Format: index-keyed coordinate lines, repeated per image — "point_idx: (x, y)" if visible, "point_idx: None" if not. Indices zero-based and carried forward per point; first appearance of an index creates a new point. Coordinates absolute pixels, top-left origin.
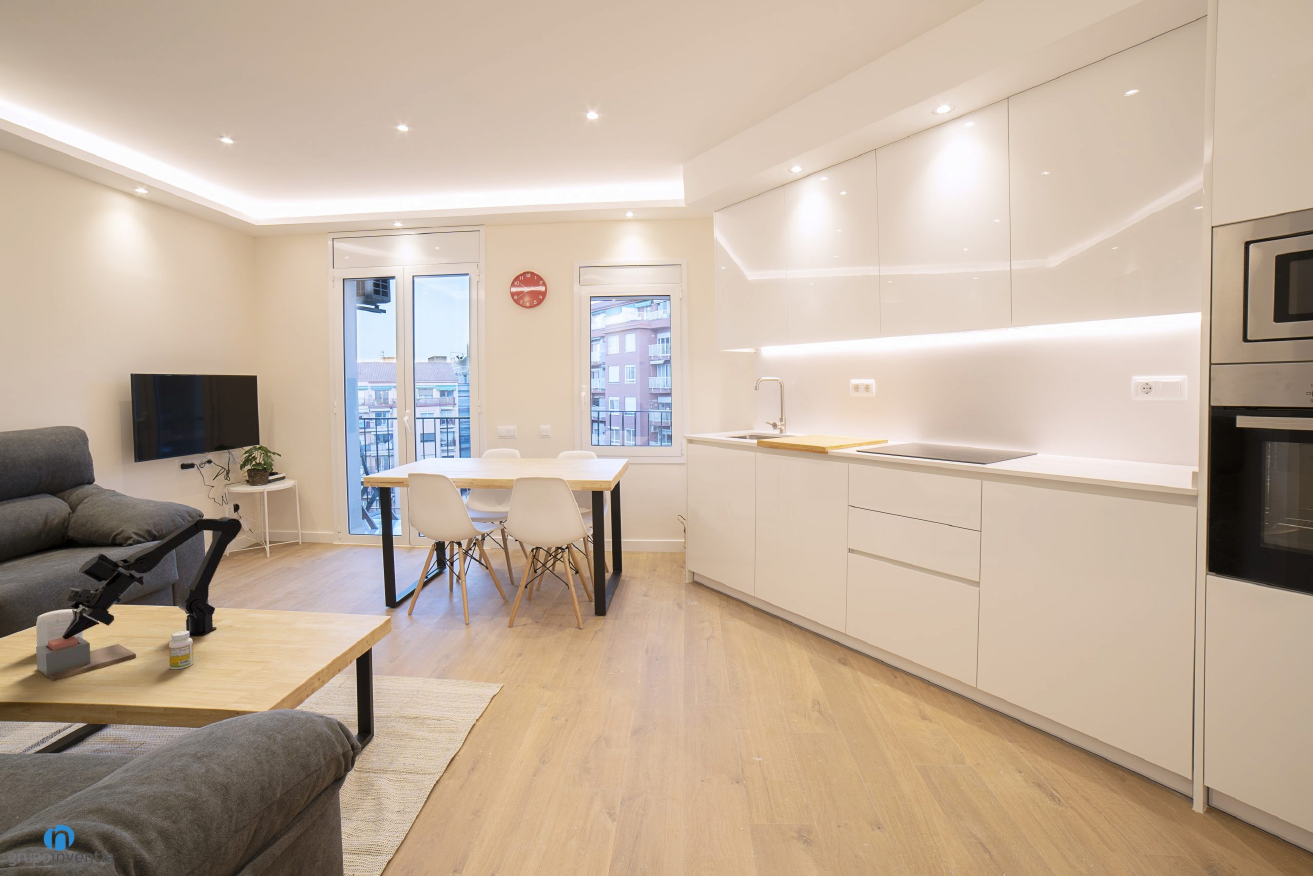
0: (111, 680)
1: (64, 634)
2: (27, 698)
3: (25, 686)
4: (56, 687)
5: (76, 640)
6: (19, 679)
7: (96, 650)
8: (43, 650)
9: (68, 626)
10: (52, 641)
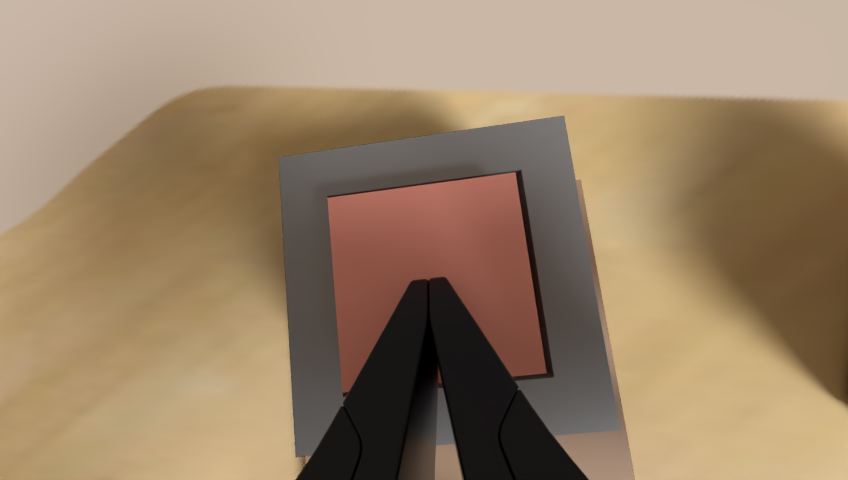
0: (68, 417)
1: (426, 298)
2: (161, 129)
3: (330, 131)
4: (195, 226)
5: (347, 378)
6: (464, 117)
7: (610, 472)
8: (398, 151)
9: (500, 370)
10: (462, 202)
